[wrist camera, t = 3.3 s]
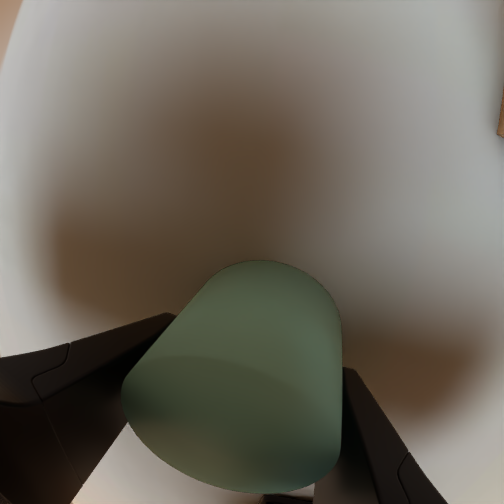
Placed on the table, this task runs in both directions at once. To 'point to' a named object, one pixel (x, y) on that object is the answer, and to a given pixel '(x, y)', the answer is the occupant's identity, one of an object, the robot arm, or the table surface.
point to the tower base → (501, 120)
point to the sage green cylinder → (245, 382)
